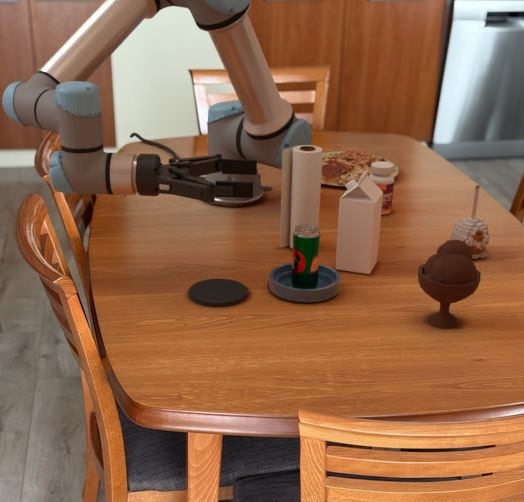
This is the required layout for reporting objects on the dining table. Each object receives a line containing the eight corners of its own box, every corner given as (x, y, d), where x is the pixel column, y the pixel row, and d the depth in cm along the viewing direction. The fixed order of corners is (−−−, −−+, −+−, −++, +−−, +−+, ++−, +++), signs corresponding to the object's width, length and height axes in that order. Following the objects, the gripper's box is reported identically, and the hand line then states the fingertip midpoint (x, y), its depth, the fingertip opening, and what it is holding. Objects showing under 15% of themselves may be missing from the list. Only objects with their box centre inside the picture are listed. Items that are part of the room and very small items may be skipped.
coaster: (177, 292, 162) (177, 289, 162) (221, 277, 169) (221, 273, 168) (214, 312, 155) (214, 308, 155) (259, 295, 162) (259, 291, 161)
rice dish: (368, 201, 214) (370, 180, 211) (274, 176, 226) (275, 156, 223) (414, 173, 234) (417, 154, 232) (326, 153, 247) (328, 134, 244)
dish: (255, 287, 165) (255, 274, 163) (304, 269, 173) (304, 256, 171) (304, 310, 156) (304, 296, 155) (353, 290, 164) (354, 277, 163)
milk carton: (377, 262, 177) (385, 172, 168) (369, 275, 171) (377, 182, 162) (343, 257, 179) (349, 168, 170) (334, 270, 173) (340, 178, 164)
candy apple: (474, 264, 177) (485, 194, 169) (442, 253, 181) (450, 185, 174) (493, 253, 182) (504, 185, 175) (461, 244, 186) (470, 177, 179)
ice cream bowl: (405, 309, 157) (413, 232, 150) (464, 307, 158) (475, 231, 151) (419, 336, 148) (429, 255, 141) (482, 334, 149) (495, 254, 142)
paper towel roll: (321, 244, 185) (326, 146, 175) (311, 254, 180) (316, 153, 170) (291, 238, 187) (294, 141, 177) (279, 248, 183) (282, 148, 172)
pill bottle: (373, 216, 201) (377, 169, 195) (360, 208, 206) (364, 162, 200) (396, 213, 203) (400, 166, 197) (383, 205, 208) (386, 159, 202)
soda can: (315, 293, 162) (318, 234, 156) (289, 291, 163) (291, 231, 157) (319, 283, 166) (322, 224, 160) (293, 280, 167) (295, 222, 161)
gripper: (149, 174, 168) (257, 177, 167) (126, 217, 146) (251, 221, 145) (147, 136, 164) (258, 139, 164) (123, 174, 142) (251, 178, 142)
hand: (255, 178), depth 154 cm, fingers open, 13 cm apart
